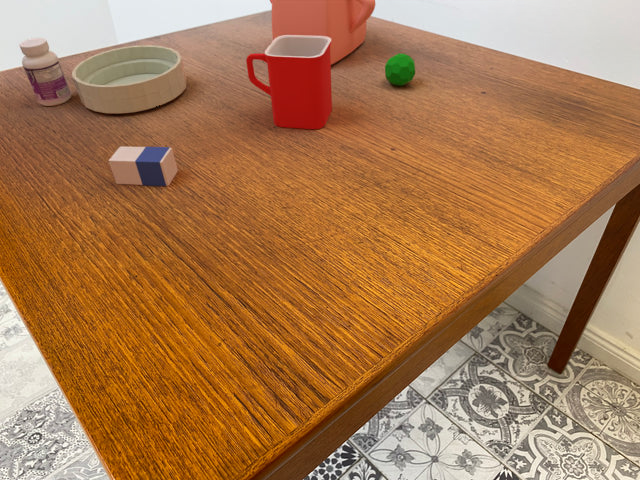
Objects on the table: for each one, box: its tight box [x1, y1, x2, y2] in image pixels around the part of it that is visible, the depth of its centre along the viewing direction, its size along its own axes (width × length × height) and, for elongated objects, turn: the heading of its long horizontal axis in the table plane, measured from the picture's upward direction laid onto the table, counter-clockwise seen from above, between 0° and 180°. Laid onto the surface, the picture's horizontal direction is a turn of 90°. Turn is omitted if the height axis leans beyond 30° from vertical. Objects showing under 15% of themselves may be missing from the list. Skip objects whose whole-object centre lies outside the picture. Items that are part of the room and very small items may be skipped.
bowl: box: [71, 44, 188, 114], centre depth 86 cm, size 17×17×5 cm
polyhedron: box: [384, 52, 416, 87], centre depth 84 cm, size 5×5×5 cm
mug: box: [245, 35, 333, 130], centre depth 75 cm, size 12×8×11 cm
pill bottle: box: [18, 37, 72, 107], centre depth 84 cm, size 5×5×10 cm
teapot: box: [269, 0, 376, 65], centre depth 96 cm, size 20×22×14 cm
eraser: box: [108, 145, 179, 187], centre depth 66 cm, size 7×4×4 cm, turn 82°
